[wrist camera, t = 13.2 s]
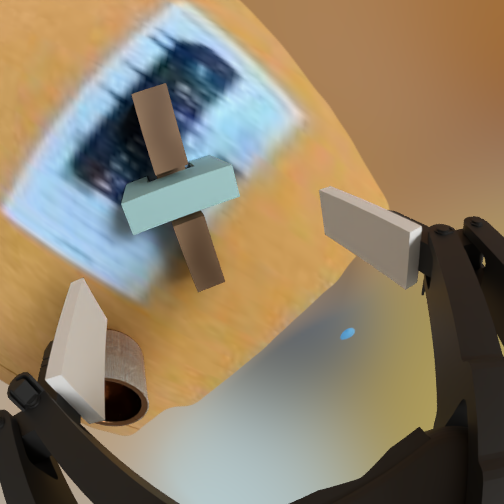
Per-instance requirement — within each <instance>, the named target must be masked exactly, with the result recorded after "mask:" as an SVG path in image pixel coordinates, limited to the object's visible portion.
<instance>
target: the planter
mask: <svg viewBox="0 0 504 504" xmlns="http://www.w3.org/2000/svg"><path fill="white" fill-rule="evenodd" d="M104 399H105V420H103V421H99V422H95V423H97V424H100V425H105V426H124V425H128V424H132V423H134V422H136V421H138V420H140V419H141V418H142V417H144V415H145V414H146V413H147V411H148V407H149V402H148V395H147V387H146V378H145V367H144V357H143V354H142V351H141V349H140V347H139V345H138V344H137V343H136V342H135V341H134V340H133V339H132V338H130V337H129V336H127V335H125V334H123V333H121V332H118V331H115V330H109V329H107V330H106V346H105V378H104Z"/></svg>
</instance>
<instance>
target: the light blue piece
mask: <svg viewBox="0 0 504 504" xmlns="http://www.w3.org/2000/svg"><path fill="white" fill-rule="evenodd" d="M189 164H190V168H187V169H184V170H181V171H178V172H176V173H173V174H170V175H167V176H164V177H161V178H159V179H156V180H153V181H151V182H149V181H148V178H147V176H146V177H144V178H141V179H139V180H136V181H133V182H131V183H128V184H126V188H125V191H124V195H123V199H122V203H121V205H122V208H123V210H124V213H125V216H126V218H127V221H128V223H129V226H130V228H131V231H132V233H133V235H136V234H138V233H141V232H143V231H146V230H149V229H151V228H154V227H156V226H159V225H162V224H164V223H167V222H170V221H172V220H175V219H178V218H180V217H183V216H186V215H188V214H191V213H194V212H197V211H200V210H202V209H205V208H208V207H211V206H214V205H217V204H219V203H222V202H225V201H228V200H231V199H234V198H237V197H240V195H239V191H238V187H237V183H236V179H235V175H234V171H233V167H232V165H231V164H229V163H227V162H225V161H222V160H220V159H218V158H216V157H213V156H211V155H208V156H204V157H201V158H198V159H195V160H192V161H189Z"/></svg>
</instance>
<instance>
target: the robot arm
mask: <svg viewBox="0 0 504 504" xmlns="http://www.w3.org/2000/svg"><path fill="white" fill-rule="evenodd" d="M319 193H320V200H321V208H322V215H323V223H324V231H325V235H327V236H328V237H330V238H331V239H333V240H334V241H336V242H337V243H339V244H340V245H342V246H343V247H345V248H346V249H348V250H349V251H351V252H352V253H354V254H355V255H357V256H358V257H360V258H361V259H363V260H364V261H366V262H367V263H369V264H370V265H372V266H373V267H374V268H376V269H377V270H379V271H380V272H382V273H383V274H384V275H386V276H387V277H389V278H390V279H391V280H393V281H394V282H396V283H397V284H398V285H400V286H401V287H403V288H404V289H405V290H406V289H407V288H409V287H411V286H412V285H414V284H415V283H417V278H418V270H419V271H420V272H422V273H423V274H424V280H423V288H422V295H424V292H426V298H427V304H428V310H429V317H430V323H431V331H432V339H433V348H434V358H435V371H436V387H437V414H436V418H435V422H434V428H433V429H431V430H428V431H425V432H424V431H423V430H422V429H421V428H420V427H418V428H417V429H416V430H414V431H413V432H412V433H411V434H409V435H408V436H407V437H405V438H404V439H402V440H401V441H400V442H398V443H397V444H396V445H394V446H393V447H391V448H390V449H389V450H388V451H387V452H386V453H385V454H384V456H383V457H382V458H381V459H380V460H379V461H378V462H377V463H376V464H375V465H374V466H373V467H372V468H371V469H370V470H369V471H368V472H367V473H366V474H365V475H364V476H363V477H361V478H359V479H357V480H354V481H350V482H347V483H344V484H340V485H337V486H333V487H330V488H326V489H322V490H318V491H316V492H314V493H312V494H310V495H308V496H305V497H303V498H301V499H299V500H296V501H294V502H292V503H290V504H504V357H503V355H502V351H501V348H500V344H499V341H498V337H497V335H498V336H499V338H500V340H501V342H502V344H503V346H504V237H503V236H502V235H501V234H500V233H499V232H498V231H496V230H495V229H494V228H493V227H492V226H491V225H490V224H489V223H488V222H487V221H485V220H484V219H481V218H480V217H475V216H473V217H467V218H465V219H464V226H463V229H459V230H455V229H454V228H452V227H450V226H448V225H444V224H436V225H433V226H430V227H428V226H426V225H424V224H422V223H419V222H417V221H415V220H413V219H410V218H409V217H407V216H404V215H402V214H400V213H398V212H395V211H390V210H386V209H384V208H382V207H379V206H377V205H375V204H372V203H370V202H368V201H365V200H363V199H361V198H358V197H356V196H354V195H351V194H349V193H346V192H344V191H341V190H339V189H336V188H334V187H331V186H329V187H326V188H323V189H320V190H319ZM483 257H485V262H486V265H485V266H484V265H483V264H482V262H483ZM106 330H107V318H106V316H105V315H104V313H103V311H102V310H101V308H100V306H99V305H98V303H97V301H96V300H95V298H94V296H93V294H92V293H91V291H90V289H89V287H88V285H87V284H86V282H85V280H84V278H81V279H78V280H76V281H74V282H71V284H70V287H69V290H68V293H67V296H66V300H65V303H64V306H63V309H62V313H61V316H60V319H59V323H58V326H57V330H56V334H55V338H54V341H51V342H50V343H49V344H48V346H47V348H46V349H45V352H44V356H43V361H42V364H41V368H40V372H39V377H38V382H37V381H36V380H35V379H34V378H33V377H32V376H31V374H29V373H28V372H23V373H21V374H19V375H18V376H16V377H15V378H14V379H13V380H12V382H11V383H10V385H9V387H8V392H7V394H8V398H9V399H10V400H11V401H12V402H13V403H14V404H15V405H16V406H17V407H18V408H20V409H21V410H22V411H21V412H19V413H18V414H16V415H14V416H12V415H11V414H10V413H9V412H8V411H6V410H0V483H1V486H2V490H3V493H4V497H5V500H6V503H7V504H78V503H77V501H76V499H75V498H74V496H73V494H72V492H71V490H70V488H69V486H68V484H67V482H66V480H65V478H64V476H63V474H62V471H61V469H60V467H59V465H58V464H60V466H61V467H62V469H63V470H64V471H65V472H66V473H67V475H68V476H69V477H70V478H71V479H72V480H73V482H74V483H75V484H76V485H77V486H78V487H79V489H80V490H81V491H82V492H83V493H84V494H85V495H86V496H87V497H88V498H89V499H90V500H91V501H92V502H93V503H94V504H179V503H177V502H176V501H174V500H173V499H171V498H170V497H168V496H167V495H165V494H164V493H162V492H161V491H160V490H158V489H157V488H155V487H154V486H152V485H151V484H150V483H148V482H147V481H146V480H144V479H143V478H142V477H140V476H139V475H138V474H136V473H135V472H134V471H132V470H131V469H130V468H129V467H128V466H126V465H125V464H124V463H123V462H121V461H120V460H119V459H118V458H117V457H116V456H114V455H113V454H112V453H111V452H110V451H109V450H108V449H107V448H105V447H104V446H103V445H102V444H101V443H100V442H99V441H98V440H97V439H96V438H95V437H93V435H91V434H90V433H89V432H88V431H87V430H86V429H85V428H84V427H83V426H82V425H81V424H80V421H81V417H82V418H83V419H85V420H86V421H87V422H88V423H89V424H91V423H95V422H99V421H103V420H105V399H104V378H105V346H106Z"/></svg>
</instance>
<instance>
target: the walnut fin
mask: <svg viewBox="0 0 504 504" xmlns="http://www.w3.org/2000/svg"><path fill="white" fill-rule="evenodd" d="M132 98H133V102H134V105H135V109H136V113H137V116H138V120H139V123H140V127H141V130H142V133H143V137H144V140H145V143H146V147H147V150H148V153H149V156H150V160H151V163H152V166H153V169H154V172H155V175H156V177H157V179H159V178H161V177H164V176H167V175H170V174H173V173H176V172H178V171H181V170H184V169H185V165H187V164H188V161H187V157H186V154H185V150H184V147H183V143H182V140H181V136H180V133H179V129H178V126H177V122H176V119H175V115H174V111H173V108H172V104H171V100H170V96H169V93H168V89H167V85H166V83H165V84H162V85H159V86H155V87H152V88H149V89H146V90H143V91H140V92H137V93H134V94H132ZM171 222H172V225H173V228H174V231H175V233H176V236H177V239H178V242H179V244H180V247H181V250H182V252H183V255H184V258H185V260H186V263H187V265H188V268H189V271H190V273H191V276H192V278H193V281H194V283H195V286H196V288H197V291H198V292H200V291H203V290H205V289H208V288H210V287H213V286H215V285H218V284H221V283H223V282H225V280H224V276H223V273H222V270H221V267H220V264H219V261H218V258H217V255H216V252H215V249H214V246H213V243H212V240H211V236H210V233H209V230H208V227H207V224H206V220H205V217H204V215H203V213H202V212H201V211H197V212H194V213H191V214H188V215H186V216H183V217H180V218H178V219H175V220H172V221H171Z"/></svg>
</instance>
